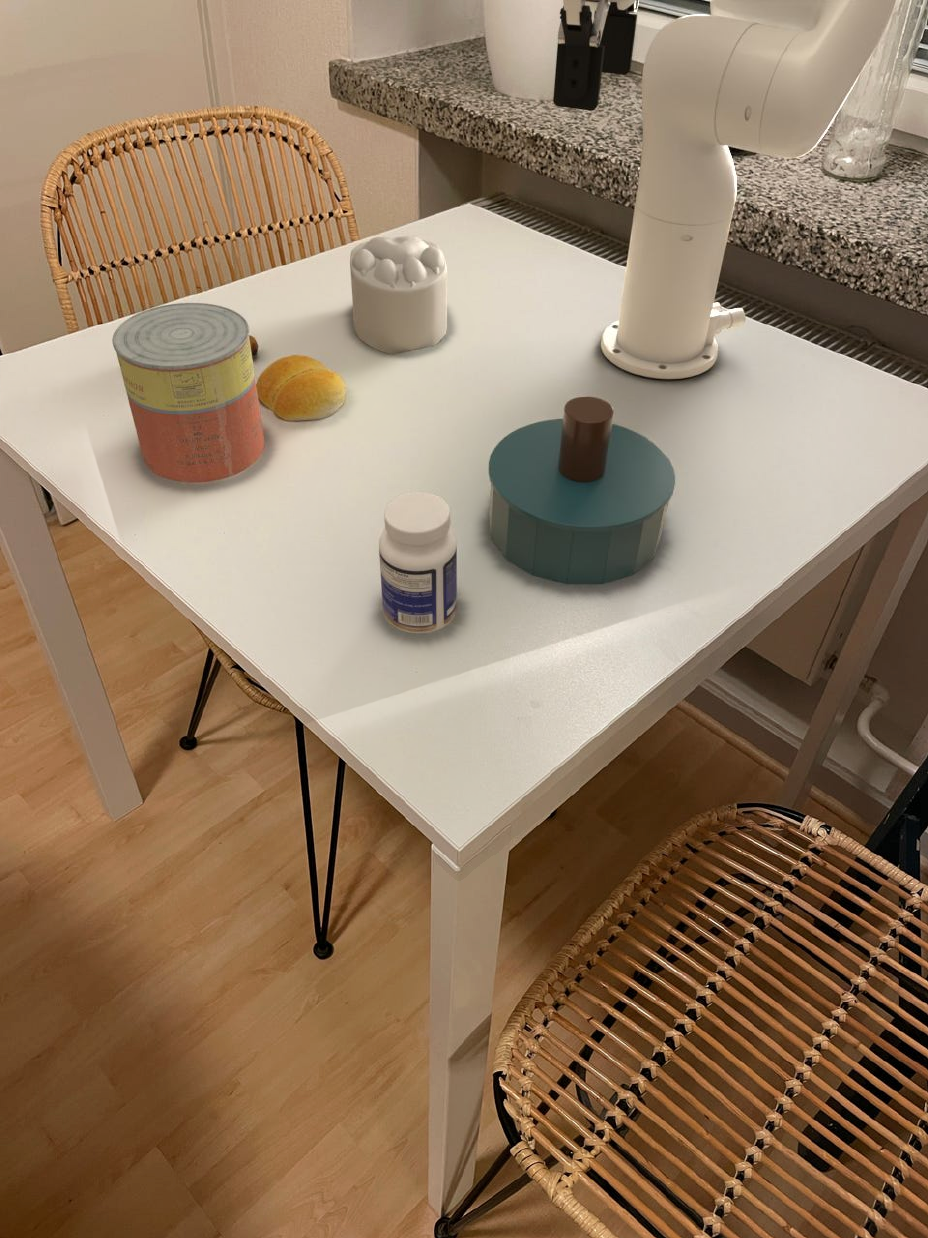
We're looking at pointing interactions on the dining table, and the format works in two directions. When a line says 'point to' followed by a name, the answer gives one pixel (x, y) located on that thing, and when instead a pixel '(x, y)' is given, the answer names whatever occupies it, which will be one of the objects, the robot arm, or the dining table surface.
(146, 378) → the canned food
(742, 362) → the dining table surface
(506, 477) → the lid
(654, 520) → the pot
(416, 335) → the lumpy-topped squat cylinder
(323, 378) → the bread roll
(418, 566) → the pill bottle
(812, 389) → the dining table surface
